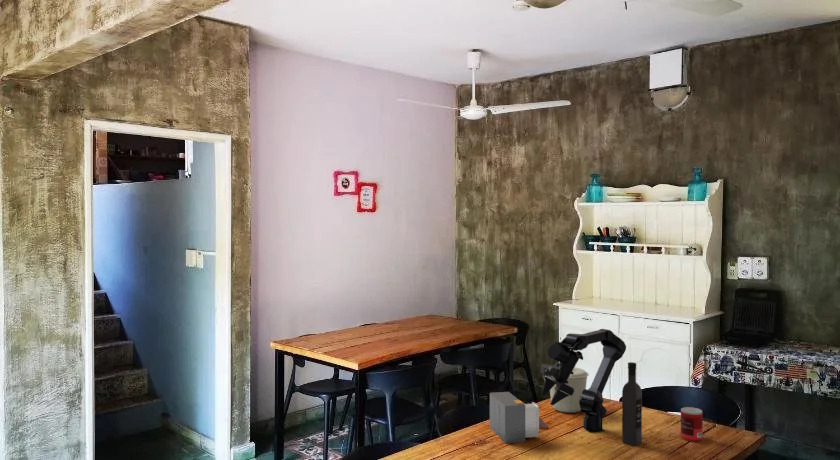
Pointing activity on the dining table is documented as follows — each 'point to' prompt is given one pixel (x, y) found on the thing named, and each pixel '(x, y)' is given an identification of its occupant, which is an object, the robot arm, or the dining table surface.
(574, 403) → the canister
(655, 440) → the dining table surface
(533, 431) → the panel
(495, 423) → the small drawer cabinet
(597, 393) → the robot arm
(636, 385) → the wine bottle
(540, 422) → the wooden tablet
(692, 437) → the canned food
